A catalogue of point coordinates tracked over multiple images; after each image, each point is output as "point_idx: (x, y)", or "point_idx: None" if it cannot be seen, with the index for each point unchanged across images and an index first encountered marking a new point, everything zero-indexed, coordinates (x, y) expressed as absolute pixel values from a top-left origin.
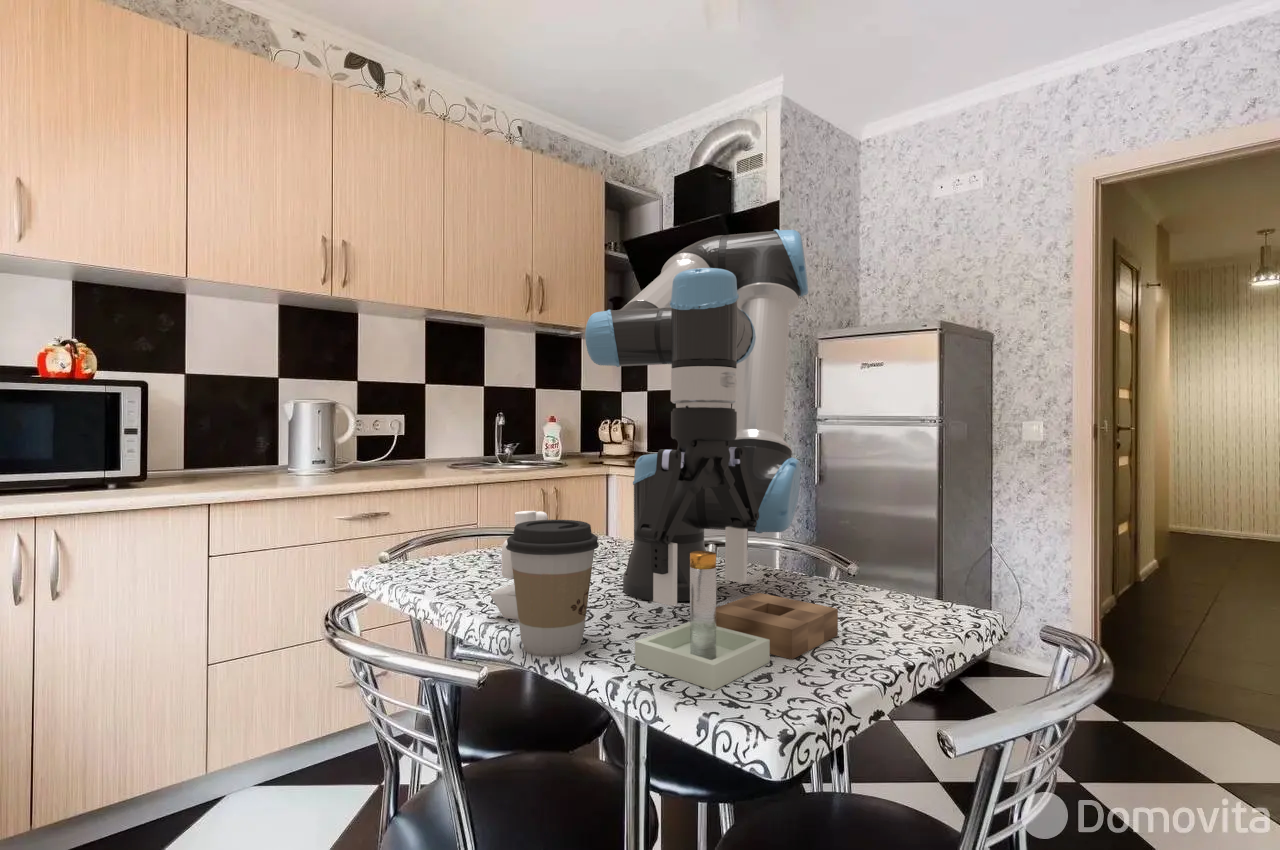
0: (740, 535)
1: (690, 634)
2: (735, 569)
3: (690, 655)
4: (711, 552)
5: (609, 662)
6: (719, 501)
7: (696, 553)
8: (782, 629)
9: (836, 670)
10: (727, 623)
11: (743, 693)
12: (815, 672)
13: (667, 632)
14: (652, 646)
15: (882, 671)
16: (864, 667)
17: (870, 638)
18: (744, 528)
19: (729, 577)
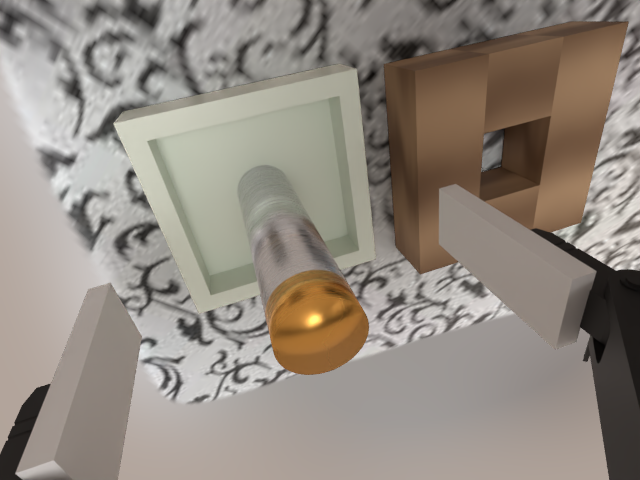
0: (537, 321)
1: (244, 201)
2: (459, 237)
3: (189, 261)
4: (357, 336)
5: (62, 58)
6: (638, 422)
7: (301, 332)
8: (417, 256)
9: (404, 300)
10: (405, 128)
11: (233, 309)
12: (377, 294)
13: (234, 112)
14: (139, 179)
15: (440, 323)
16: (439, 307)
17: (554, 234)
18: (578, 332)
19: (444, 205)
